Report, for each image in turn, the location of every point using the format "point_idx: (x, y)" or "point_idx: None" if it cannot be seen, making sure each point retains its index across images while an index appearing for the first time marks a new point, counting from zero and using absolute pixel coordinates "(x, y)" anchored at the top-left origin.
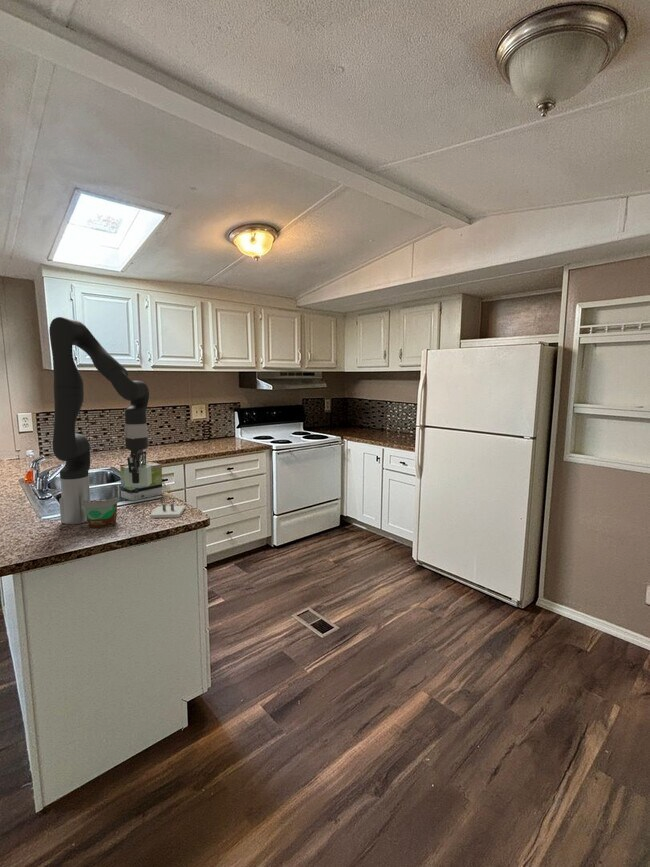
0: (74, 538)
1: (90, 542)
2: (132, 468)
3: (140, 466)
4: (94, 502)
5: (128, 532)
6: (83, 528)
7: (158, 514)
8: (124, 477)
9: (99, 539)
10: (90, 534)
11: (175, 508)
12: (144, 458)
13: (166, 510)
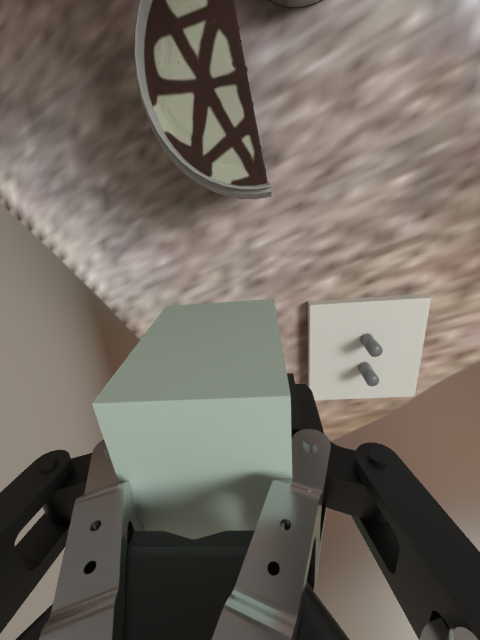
0: (65, 82)
1: (44, 183)
2: (93, 490)
3: (201, 530)
4: (139, 78)
5: (154, 280)
6: None
7: (312, 334)
8: (141, 339)
9: (76, 203)
10: (116, 134)
11: (381, 372)
12: (407, 610)
13: (361, 348)
